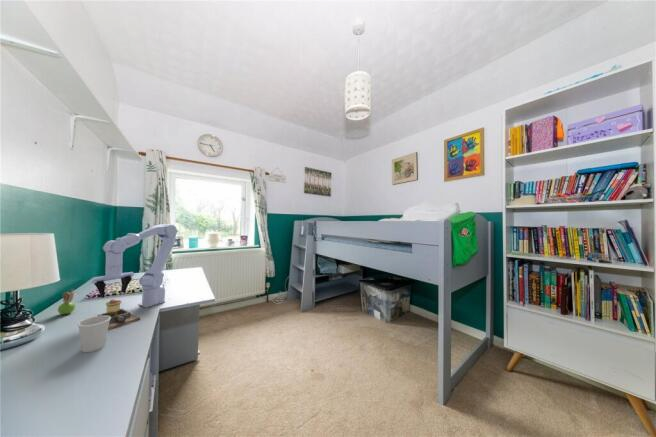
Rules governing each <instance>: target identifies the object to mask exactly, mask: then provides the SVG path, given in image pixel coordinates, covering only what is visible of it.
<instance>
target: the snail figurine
mask: <svg viewBox="0 0 656 437" xmlns="http://www.w3.org/2000/svg"><path fill="white" fill-rule="evenodd" d="M70 291H71V292H69V291H64V292H63V294H62V302H63V303H62V304H60V305H59V306H58V307H57V312H58V313H59V314H60V315H68V314H70V313H72V312H74V311H75V309H76V305H75V303H74V302H72V301H73V299H74V295H75V288H73V289H71V290H70Z"/></svg>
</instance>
